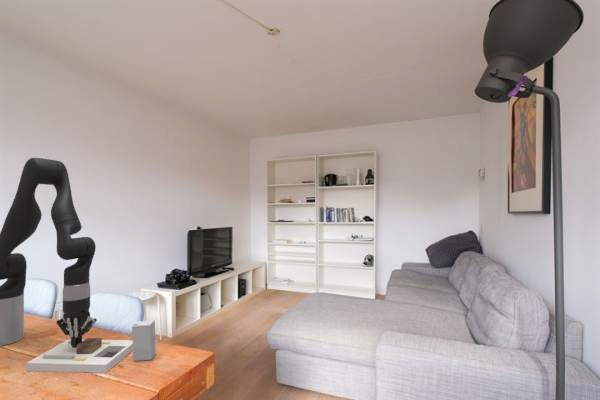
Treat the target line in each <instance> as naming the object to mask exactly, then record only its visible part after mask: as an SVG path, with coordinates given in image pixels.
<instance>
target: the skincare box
mask: <svg viewBox="0 0 600 400" xmlns="http://www.w3.org/2000/svg"><path fill="white" fill-rule="evenodd" d="M155 323H156V320H137V321H136V322H135V323H134V324H133V325H132V326H131V337H132V338H131V339H132V340H133V351H132V361H133V362H140V361H141V362H142V361H152V360H153V359H154V357H155V356H156V354H157V351H156V324H155Z"/></svg>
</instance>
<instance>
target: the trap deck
mask: <svg viewBox="0 0 600 400" xmlns="http://www.w3.org/2000/svg"><path fill="white" fill-rule="evenodd" d="M84 340H85V339H82V341H84ZM130 353H133V339H132V340H131V339H130V340H125V339H102V347H100V348H99V349H98V350H96V351H95V352H94V353H92V354H77V348H72V346H71V338H70V339H69V338H68V339H67V340H64V341H63V342H61V343H59V344H57V345H56V346H54V347H51V348H49V350H47V351H45V352H43V353H41V354H40V355H38V356H36V357H35V358H33V359H31V360H29V361H27V362H25V364H26V365H25V366H26V372H55V373H57V372H61V373H91V374H92V373H95V374H96V373H97V374H98V373H99V374H100V373H102V374H104V373H105V374H107V372H108V370H109V371H110V370H111V369H113V367H115V366H116V365H117V364H118V363H120V362H121V361H122V360H123V359H125V358H126V357H127V356H128V355H129V354H130ZM125 356H126V357H125Z"/></svg>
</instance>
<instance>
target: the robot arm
mask: <svg viewBox="0 0 600 400" xmlns="http://www.w3.org/2000/svg"><path fill="white" fill-rule="evenodd" d="M39 185H47V186H48V185H51V186H53V187H54V188H55V191H56V197H55V199H54V202H53V204H52V206H51V209H50V216H51V220H52V223H53V226H54V228H55V231H56V254H57V256H58V257H59V258H60V259H61V260H64V261H70V260H71V261H72V260H75V259H77V261H76V262H75V263H73V264H72V265H69V266H67V267H65V268H64V270H63V289H62V312H63V315H62V317H61V318H60V319H58V320H56V324H57V325H58V327H59V329H60V330H61V332H62V333H63V334H64V335H65V336H69V337H70V339H71V346H72V348H77V345H78V344H79V343H81V342H82V340H83V336H84V335H86V334H87V333H88V332H89V331H90V330H91V328H93V327H94V325H95V324H96V322H97V318H92V317H91V312H90V307H91V285H90V269H91V267H92V264H93V263H92V262H93V260H94V257H95V253H96V250H97V249H96V242H95V241H94V239H93V238H92V237H90V236H82V237H81V236H80V237H75V238H73V237H71V236H73V235H75V234H77V233H79V232H80V231H81V230H82V228H83V227H82V223H81V220H80V219H79V215H78V213H77V211H76V209H75V205H74V200H73V195H72V194H73V193H72V188H71V183H70V179H69V172H68V170H67V167H66V164H64V163H63V162H62V161H61V160H56V159H50V158H41V157H30V158H29V159H28V160H27V161H26V162H25V164H24V166H23V169H22V172H21V175H20V178H19V183H18V185H17V190H16V193H15V196H14V198H13V201H12V204H11V206H10V208H9V210H8V212H7V215H6V217H5V219H4V223H3V225H2V228H1V230H0V281H3V280H6V281H5V282H3V283H2V284H0V346H1V347H2V346H6V345H10V344H14V343H16V342H19V341H21V340H22V339H23V338H24V336H25V334H24V333H25V332H24V331H25V301H24V300H25V288H26V285H27V284H26V282H27V280H26V279H27V267H28V266H27V259H26V257H25V256H24V254H22V253H19V252H15V253H13V251H14V250H16V249H17V248H18V247H19V246H20V245H21V244H23V243H24V242H25V241H26V240H28V239H29V238H30V237H31V236H32V235H34V233H35V232H36V231H37V229H38V227H39V224H40V222H41V220H42V210H41V208H40V206H39V204H38V202H37V200H36V197H35V196H36V190H37V187H38V186H39Z"/></svg>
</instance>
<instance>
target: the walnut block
mask: <svg viewBox="0 0 600 400" xmlns="http://www.w3.org/2000/svg"><path fill="white" fill-rule="evenodd" d="M83 340H84V341H82V342H81V343H79V344H78V345H77V354H92V353H94V352H95V351H96V350H98V349H99V348H100V347H102V340H103V338H101V337H87V338H85V339H83Z"/></svg>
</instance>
